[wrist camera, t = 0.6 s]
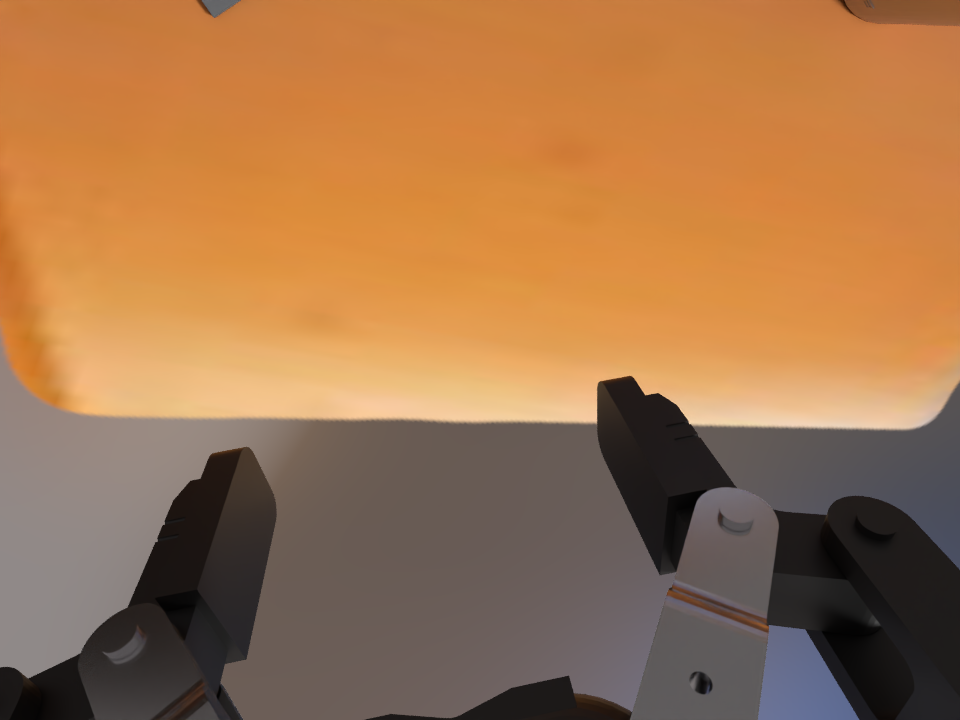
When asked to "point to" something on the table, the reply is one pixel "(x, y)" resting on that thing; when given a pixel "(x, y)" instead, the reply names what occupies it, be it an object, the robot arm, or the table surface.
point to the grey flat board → (219, 6)
